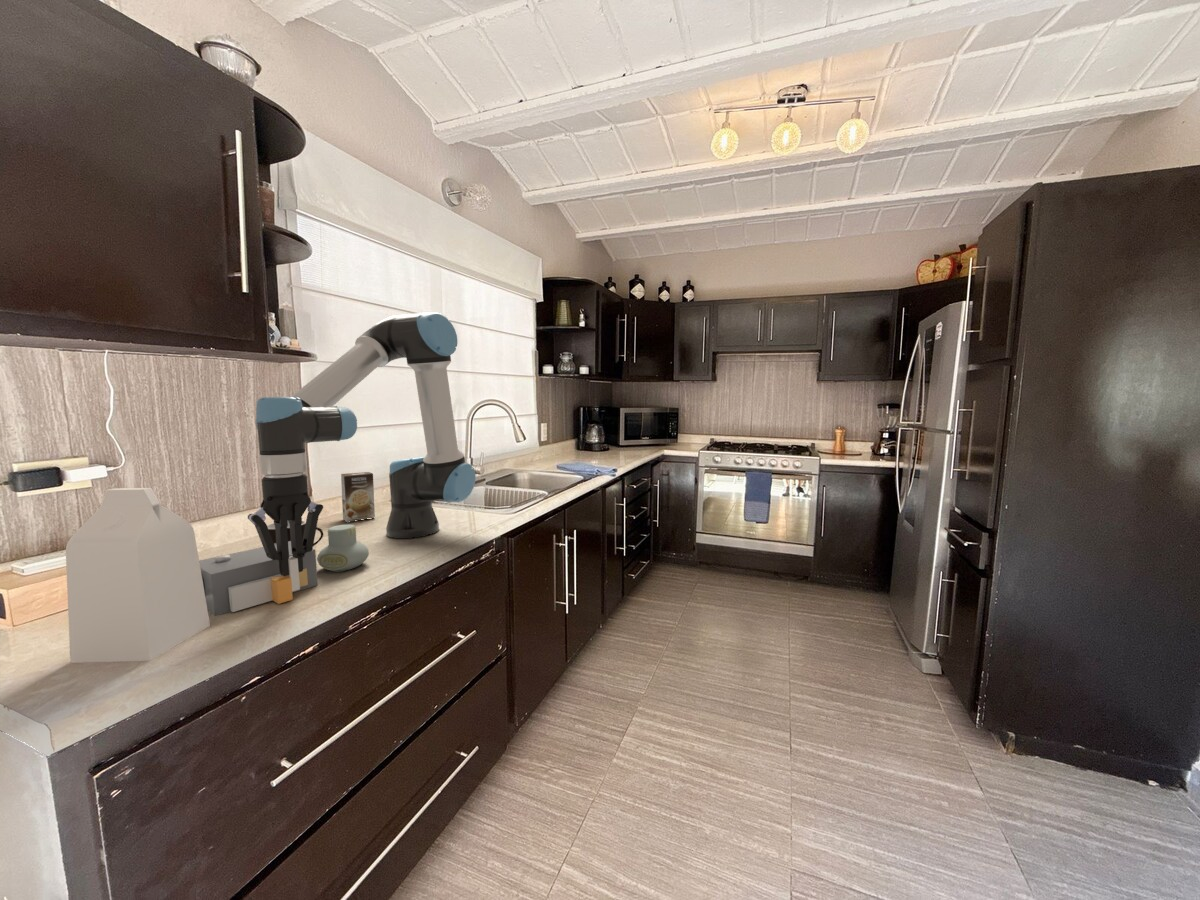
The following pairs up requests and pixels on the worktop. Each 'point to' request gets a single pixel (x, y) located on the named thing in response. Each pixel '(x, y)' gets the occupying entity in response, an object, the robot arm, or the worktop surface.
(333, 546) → the air freshener
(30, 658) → the worktop surface
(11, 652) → the worktop surface
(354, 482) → the coffee box
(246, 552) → the grey box with knob
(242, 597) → the door
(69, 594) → the milk
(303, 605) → the worktop surface
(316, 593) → the worktop surface
